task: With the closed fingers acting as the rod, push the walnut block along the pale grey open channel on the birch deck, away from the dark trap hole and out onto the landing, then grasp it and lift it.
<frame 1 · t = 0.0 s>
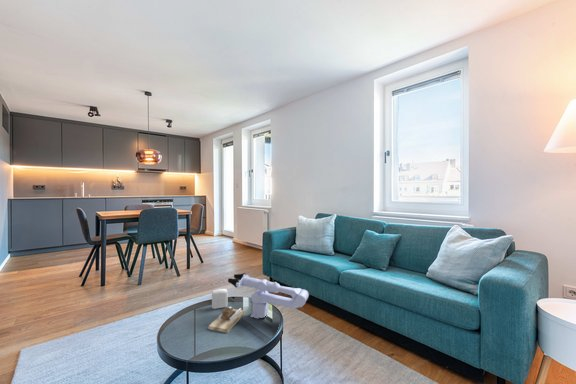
hand: (231, 278, 172), 22 cm above the table, tool horizontal, fingers open, 7 cm apart
walnut block: (227, 317, 160), point 2 cm above the table, touching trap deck
photo printer: (219, 307, 178), on the table
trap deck: (227, 321, 160), on the table
channel: (230, 313, 164), on the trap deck, point 2 cm above the table
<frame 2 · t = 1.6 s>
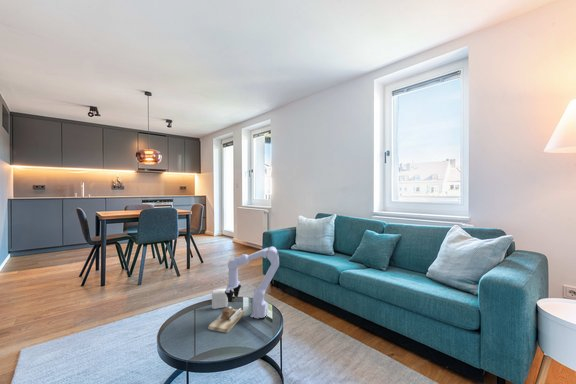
hand: (233, 299, 167), 10 cm above the table, tool pointing down, fingers open, 7 cm apart
nothing on the table moved.
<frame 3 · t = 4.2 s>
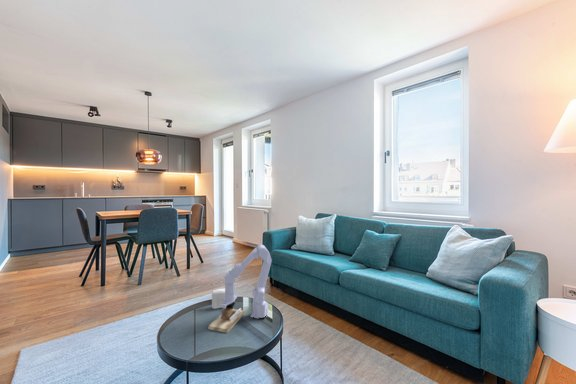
hand: (229, 314, 163), 3 cm above the table, tool pointing down, fingers closed, pressing on walnut block
walnut block: (227, 317, 160), point 2 cm above the table, touching gripper, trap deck
everything else where it was.
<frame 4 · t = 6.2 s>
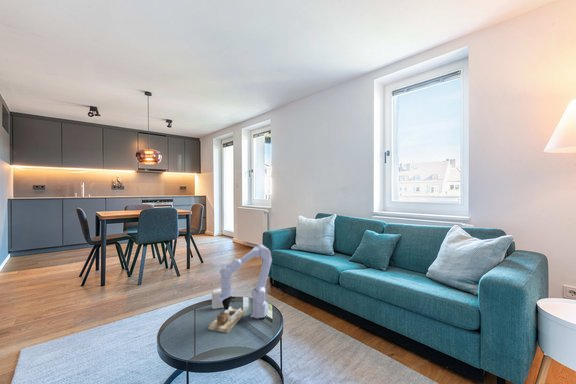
hand: (226, 309, 158), 8 cm above the table, tool pointing down, fingers closed
walnut block: (222, 322, 155), point 2 cm above the table, touching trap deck
everything else where it was.
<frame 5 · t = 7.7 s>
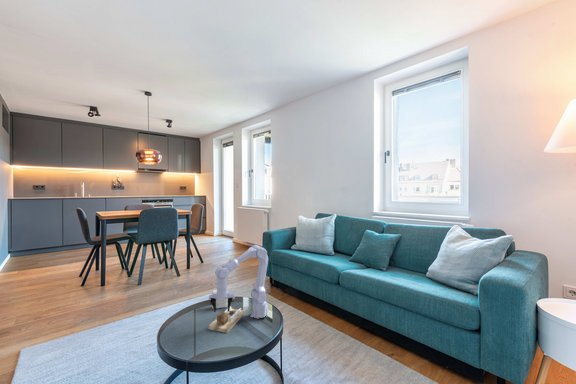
hand: (221, 310, 154), 9 cm above the table, tool pointing down, fingers open, 7 cm apart
nothing on the table moved.
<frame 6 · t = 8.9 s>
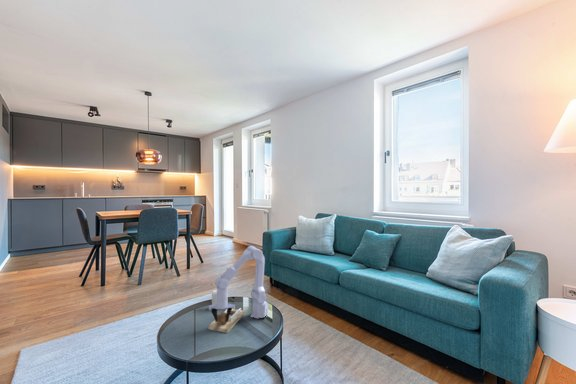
hand: (222, 320, 154), 3 cm above the table, tool pointing down, fingers closed on walnut block, 6 cm apart
walnut block: (222, 322, 155), point 2 cm above the table, touching gripper, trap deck
everything else where it was.
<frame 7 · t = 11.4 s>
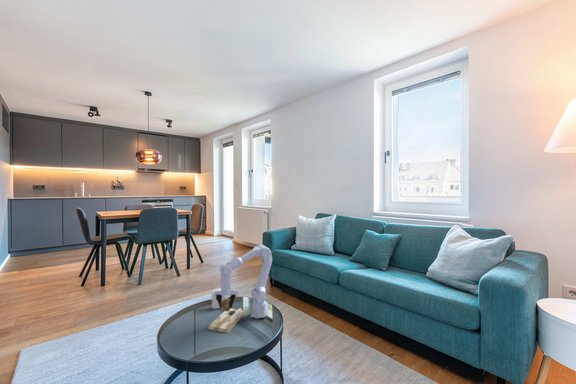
hand: (226, 307, 157), 10 cm above the table, tool pointing down, fingers closed on walnut block, 6 cm apart
walnut block: (226, 308, 158), point 8 cm above the table, touching gripper
everything else where it was.
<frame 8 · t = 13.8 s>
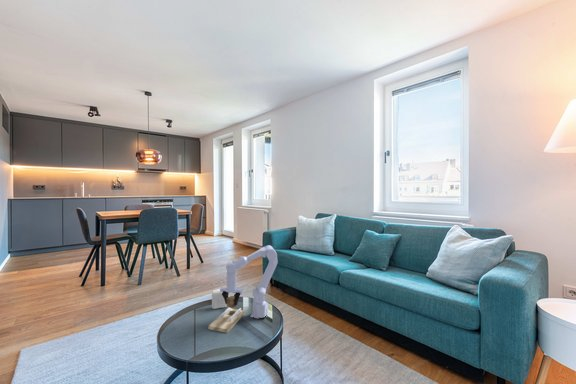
hand: (231, 303, 162), 9 cm above the table, tool pointing down, fingers closed on walnut block, 6 cm apart
walnut block: (232, 305, 163), point 8 cm above the table, touching gripper
everything else where it was.
at the end: the gripper is holding walnut block; walnut block point 8.0 cm above the table; walnut block moved 7.0 cm from its start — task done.
